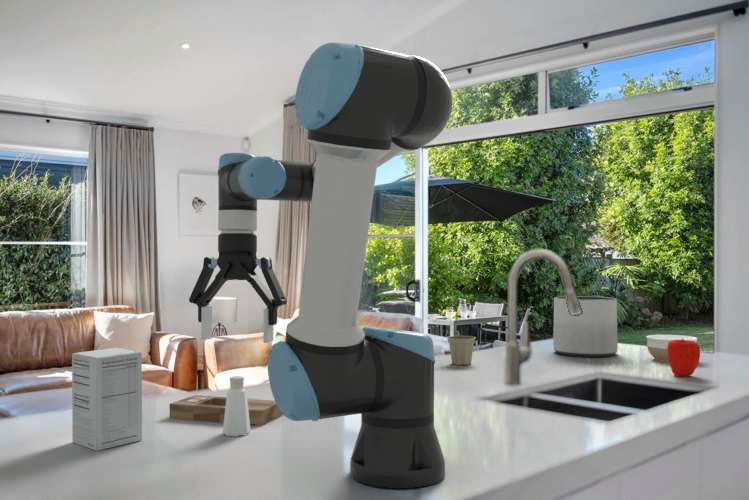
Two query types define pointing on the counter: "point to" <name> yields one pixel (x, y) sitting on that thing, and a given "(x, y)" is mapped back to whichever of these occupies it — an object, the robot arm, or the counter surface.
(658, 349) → the bowl
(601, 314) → the planter
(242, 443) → the counter surface
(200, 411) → the brown flat tray
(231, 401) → the pepper shaker
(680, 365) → the apple
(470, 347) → the flower pot
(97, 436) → the supplement box
